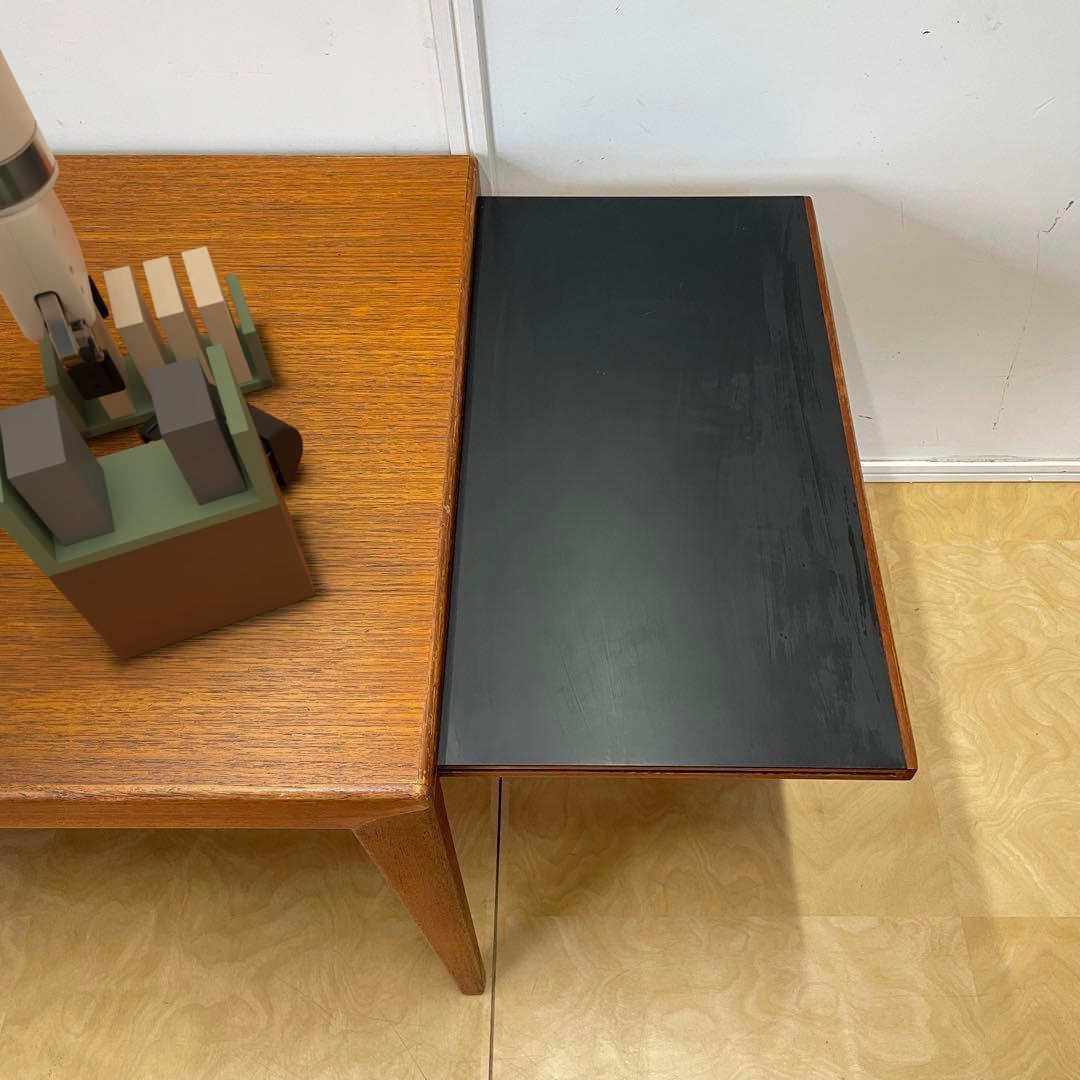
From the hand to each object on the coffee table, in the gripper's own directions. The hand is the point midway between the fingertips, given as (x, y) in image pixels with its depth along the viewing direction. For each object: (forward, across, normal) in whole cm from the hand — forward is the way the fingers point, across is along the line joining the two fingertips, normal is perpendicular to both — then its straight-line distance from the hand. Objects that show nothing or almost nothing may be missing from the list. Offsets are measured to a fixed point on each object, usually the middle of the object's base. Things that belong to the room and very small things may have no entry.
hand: (97, 354), depth 73 cm
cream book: (+4, 0, 0) cm, 4 cm away
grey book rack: (+5, +21, +3) cm, 22 cm away
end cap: (+5, +11, +7) cm, 14 cm away
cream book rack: (+5, 0, +4) cm, 7 cm away
